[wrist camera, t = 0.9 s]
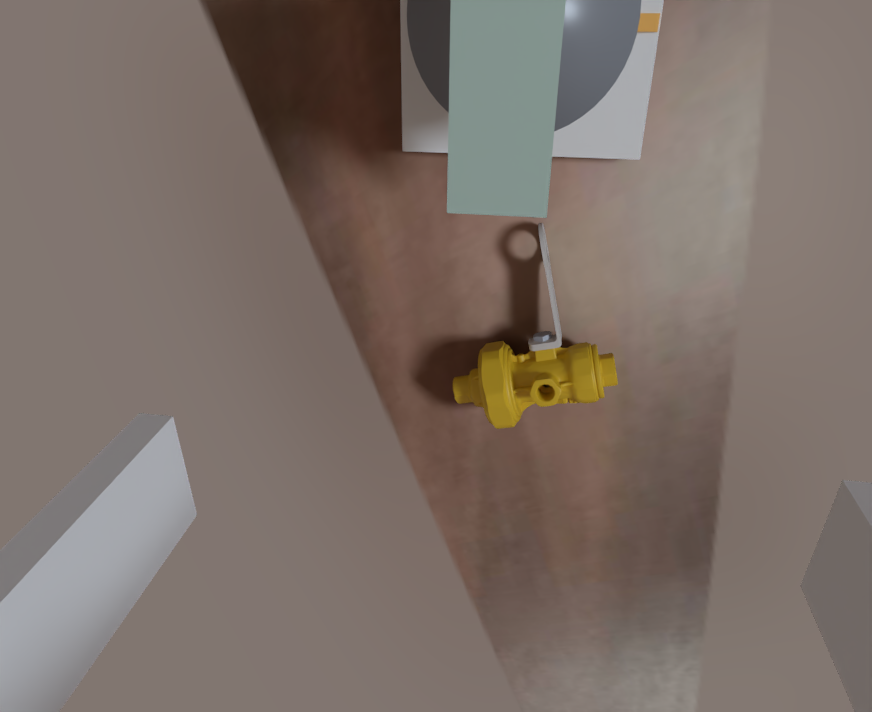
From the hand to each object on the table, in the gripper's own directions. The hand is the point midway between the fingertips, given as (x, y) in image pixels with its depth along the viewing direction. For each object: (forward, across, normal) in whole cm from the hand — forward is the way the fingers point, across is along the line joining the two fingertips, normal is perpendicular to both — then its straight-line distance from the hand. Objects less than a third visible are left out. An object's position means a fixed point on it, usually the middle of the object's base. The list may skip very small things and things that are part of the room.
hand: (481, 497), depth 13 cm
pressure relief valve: (+28, 0, -9) cm, 29 cm away
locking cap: (+21, 0, +8) cm, 23 cm away
